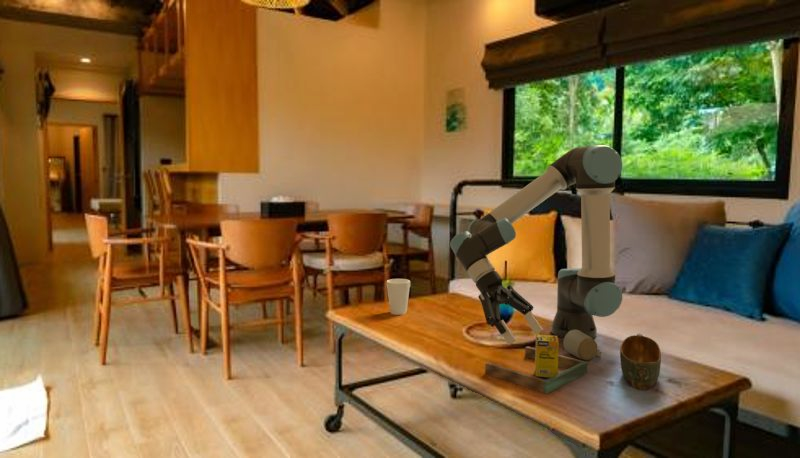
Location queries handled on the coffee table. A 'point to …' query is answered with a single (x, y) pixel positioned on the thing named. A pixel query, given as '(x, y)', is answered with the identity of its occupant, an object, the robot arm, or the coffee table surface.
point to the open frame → (546, 386)
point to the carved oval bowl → (640, 361)
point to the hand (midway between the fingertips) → (526, 337)
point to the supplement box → (546, 356)
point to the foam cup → (398, 295)
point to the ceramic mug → (580, 345)
